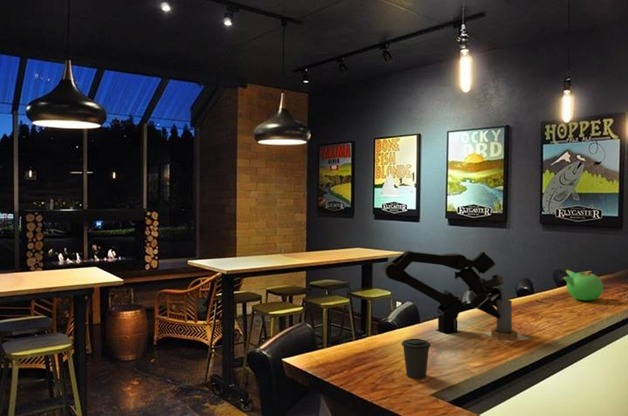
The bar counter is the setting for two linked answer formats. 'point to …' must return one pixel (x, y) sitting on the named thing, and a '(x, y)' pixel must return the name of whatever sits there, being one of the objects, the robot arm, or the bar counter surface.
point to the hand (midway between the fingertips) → (504, 315)
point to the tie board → (520, 337)
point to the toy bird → (584, 285)
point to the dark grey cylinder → (504, 316)
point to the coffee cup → (416, 357)
